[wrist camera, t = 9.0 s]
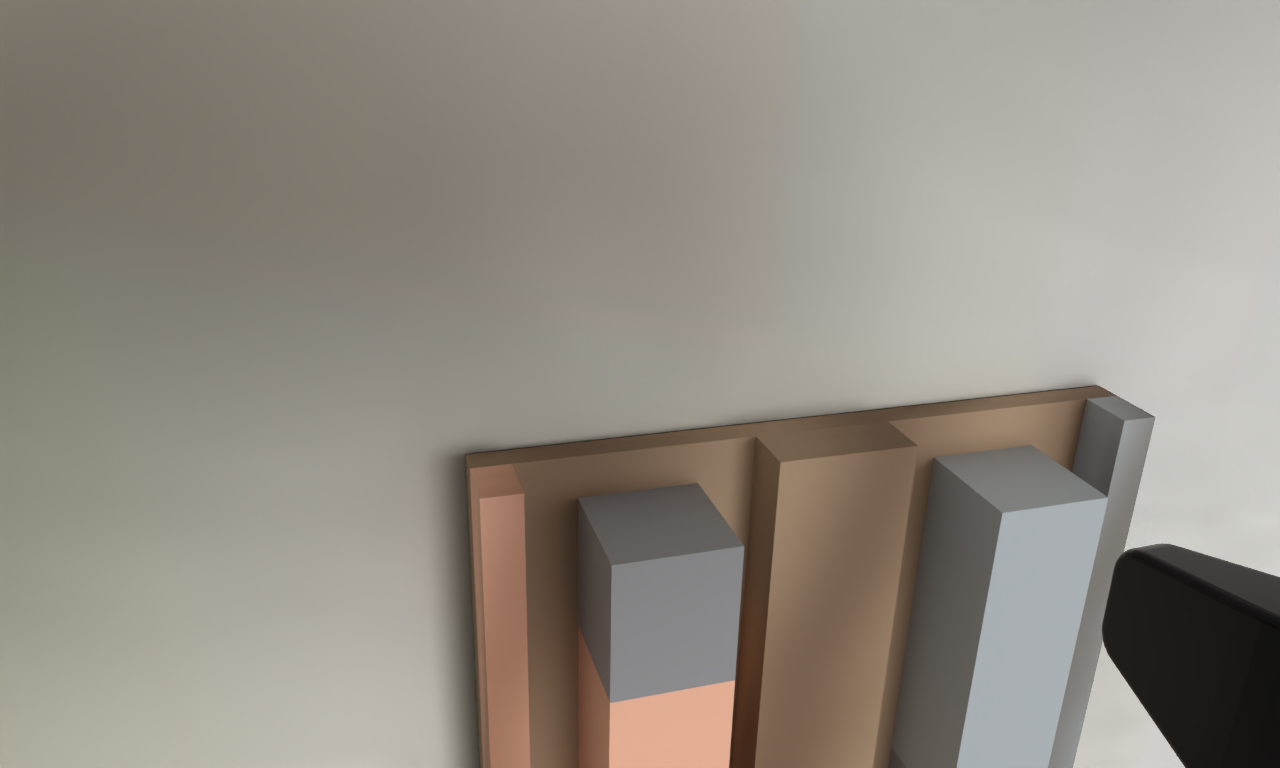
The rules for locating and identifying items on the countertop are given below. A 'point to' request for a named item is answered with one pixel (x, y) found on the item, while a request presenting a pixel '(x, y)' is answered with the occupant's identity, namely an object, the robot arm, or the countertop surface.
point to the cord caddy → (775, 565)
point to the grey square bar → (995, 610)
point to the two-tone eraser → (656, 629)
